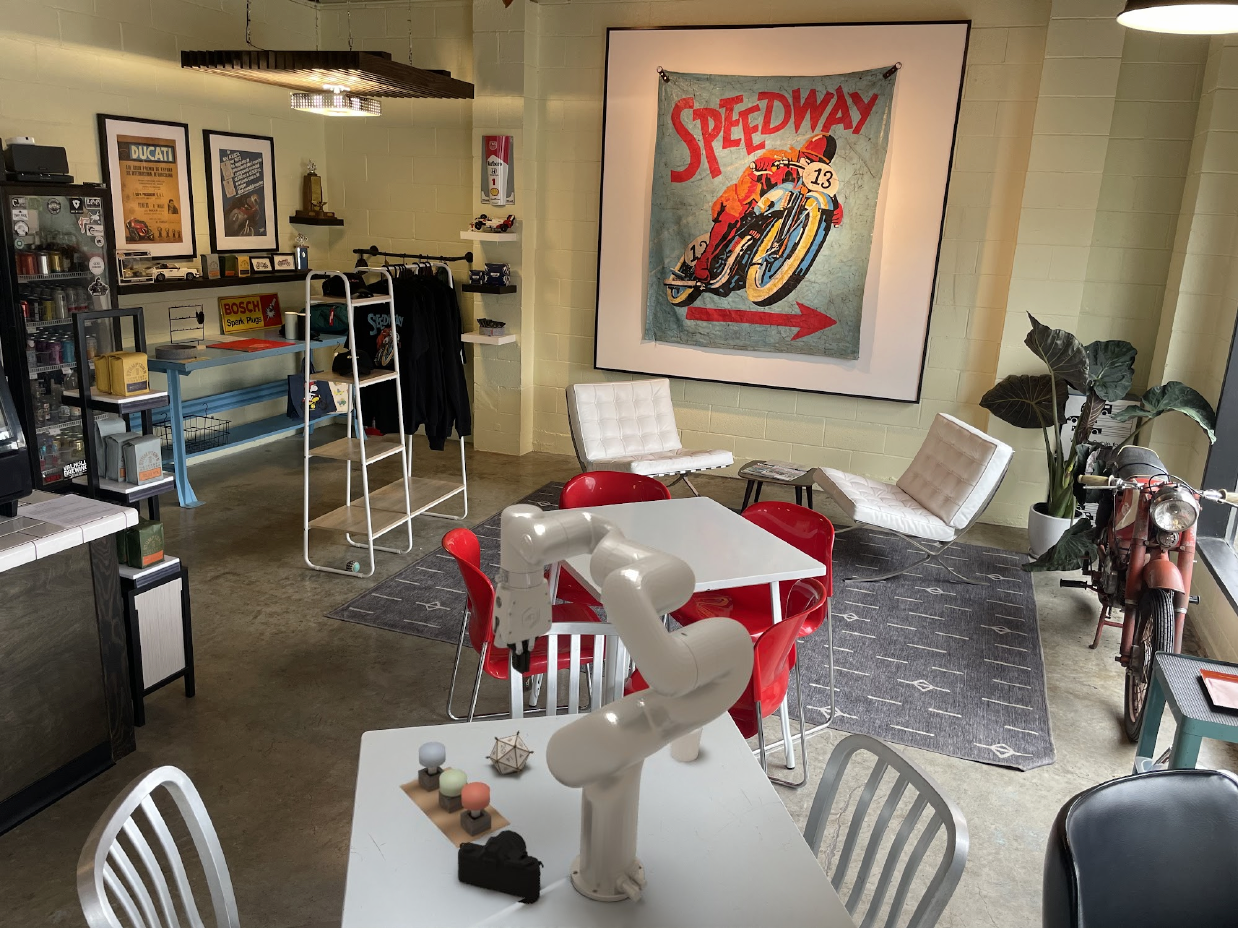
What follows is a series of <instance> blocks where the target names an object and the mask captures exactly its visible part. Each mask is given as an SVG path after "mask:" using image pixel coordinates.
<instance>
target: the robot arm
mask: <svg viewBox="0 0 1238 928" xmlns="http://www.w3.org/2000/svg"><path fill="white" fill-rule="evenodd" d="M585 554H586V555H591V558H590V561H589V574H590V577H591V579H592V581H593V583H594V584H595V585H596V586H597V587H599V588H600V589H601V590H600V591H601V592H600V593H601V594H600V596H601V602H602V606H603V609H604V612H605V613H606V616H607V618H608V620H609V622H610V624H611V625H612V628H613V629H614V631H615V632H616V634H617V636H618V638H619V640H620V641H621V642H622V644H623V646H624V647H625V649H626V651H627V653H628V654H629V656H630V658H631V660H632V661H633V663H634V665H635V667H636V668H637V669H638V672H639V673H640V676H642V679H643V680H644V681H645V683H646V684H647V685H648V688H645V689H642V690H639V691H635V692H633V693H630V694H627V695H625V696H623V697H621V698H619V699H617V700H614V701H612V702H610V703H608V704H605V705H603V706H602V707H601V706H600V707H599V708H597V709H595V710H593V711H591V712H589V713H587V714H586V715H583V716H582V717H580V718H578V719H576V720H574V721H572V722H570V723H569V724H566V725H565V726H563V727H561V728H559V729H557V730H556V731H555V732H554V733H553V734H552V735H551V736H550V738H549V740H548V742H547V746H546V751H545V758H546V764H547V768H548V770H549V772H550V773H551V775H552V776H553V778H554V779H555V780H556V782H558V783H560V784H561V785H563V786H565V787H568V788H570V789H581V808H580V809H581V810H580V811H581V812H580V813H581V814H580V844H579V854H577V856H576V857H575V858H574V859H573V861H572V862H571V865H570V874H569V875H570V876H569V877H570V880H571V881H570V882H571V884H572V886H573V887H574V888H575V889H576V890H577V891H578V892H579V893H580V894H582V895H584V896H586V897H587V898H589V899H593V900H595V901H599V902H600V901H601V902H616V901H620V900H621V901H622V900H625V899H627V898H629V899H630V900H632V902H638V901H639V900H640V899H641V897H642V893H643V892H642V890H644V889H646V888H647V887H648V882H647V881H646V880H645V868H644V865H643V862H641V860H640V858H638V857H637V843H638V841H637V840H638V825H639V824H638V823H639V821H638V820H639V805H640V803H639V802H640V790H641V779H642V771H643V767H644V763H645V759H647V758H649V757H651V756H652V755H654V754H656V753H657V752H659V751H660V750H662V749H663V748H664V747H666V746H668V745H669V744H671V742H672V741H674V740H676V739H678V738H680V737H682V736H684V735H687V734H689V733H691V732H693V731H694V730H696V729H698V728H700V727H702V728H703V727H704V726H707V725H708V724H710V723H712V722H714V721H716V719H718V718H720V717H721V716H722V715H724V714H726V712H727V711H729V709H731V708H732V707H733V706H734V705H735V703H737V701H739V699H740V698H741V696H742V695H743V694H744V692H745V690H746V689H747V687H748V685H749V682H750V679H751V676H752V674H753V668H754V664H755V661H754V659H755V655H754V654H755V653H754V652H755V651H754V644H753V640H752V637H751V635H750V633H749V630H747V628H746V626H744V625H743V624H742V623H740V622H739V621H737V620H735V619H732V618H730V617H723V616H722V617H720V616H719V617H718V616H717V617H709V618H704V619H700V620H698V621H696V622H695V621H694V622H693V623H690V624H688V625H686V626H685V625H684V626H683V627H681V628H677V629H676V630H673V631H670V632H669V631H668V629H667V627H666V626H665V624H664V623H663V621H662V619H661V617H662V616H664V615H668V614H670V613H672V612H674V611H677V610H678V609H680V608H681V607H683V606H684V605H686V603H688V601H690V600H691V598H692V595H694V592H695V590H696V589H695V588H696V576H695V573H694V571H693V569H692V567H691V566H690V565H689V564H688V563H687V562H686V561H684V559H681V558H680V557H678V556H676V555H674V554H670V553H667V552H665V551H663V550H660V549H659V550H658V549H656V548H653V547H650V546H648V545H644V544H642V543H638V542H635V541H633V540H630V539H628V538H626V537H625V534H624V533H623V531H622V529H621V527H620V526H618V524H617V523H616V522H615V521H614V520H612V519H610V518H608V517H607V516H603V515H600V514H598V513H597V514H596V513H593V512H590V511H587V510H574V511H573V510H572V511H568V512H563V513H560V514H557V515H552V516H549V517H545V513H544V511H543V510H542V508H540V507H539V506H536V505H533V504H528V503H517V504H513V505H509V506H507V507H505V508H504V509H503V510H502V511H501V516H500V568H499V573H498V574H496V575H495V576H494V580H495V582H496V583H497V585H496V589H495V594H494V601H493V608H492V609H493V610H492V633H493V635H494V636H495V637H494V642H493V645H494V646H495V647H496V648H498V649H507V648H508V649H510V650H511V666H512V668H513V670H515V671H516V672H518V673H519V674H521V675H523V674H525V673H529V672H530V669H531V667H530V666H531V653H532V651H534V650H533V649H534V647H535V643H537V641H538V639H539V638H540V637H543V636H544V635H546V634H547V633H548V632H549V631H551V629H552V627H553V610H552V599H551V598H552V597H551V592H550V586H549V582H548V579H547V578H545V577H544V574H545V572H544V570H545V566H546V565H550V564H551V565H552V564H554V563H557V562H560V561H563V560H566V559H567V560H568V559H570V558H573V557H576V556H581V555H585Z"/></svg>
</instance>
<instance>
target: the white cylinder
mask: <svg viewBox="0 0 1238 928" xmlns="http://www.w3.org/2000/svg"><path fill="white" fill-rule="evenodd" d="M702 733H703V726H702V727H700V728H698V729H696V730H694V731H693V732H691V733H689V734H687V735H684V736H682V737H680V738H678V739H676V740H674V741H672V742H671V743H670V755H671V757H672V758H673V759H675V760H676V761H679V762H686V763H687V762H688V763H689V762H693V761H695V760H697V758H698V756H699V755H698V754H699V751H700V750H699V748H700V745H701V744H700V743H701V738H702Z"/></svg>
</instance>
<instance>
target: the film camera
mask: <svg viewBox="0 0 1238 928" xmlns="http://www.w3.org/2000/svg"><path fill="white" fill-rule="evenodd" d="M463 844H464V845H463ZM541 868H544V864H543V861H542V860H539V859H538V858H537V857H534V856H532V855H529V854H528V851H527V844H526V841H525V839H524V838H523V836H522V835H520V833H519V832H516V831H514V830H508V829H507V830H501V831H500V832H499V833H498V834H497V835H496V836H490V837H489V838H488V839H487V840H486V842H485V844H479V843H474V842H467V843H461V844H460V847H459V849H458V852H457V877H458V878H457V879H458V882H460V883H463V884H465V885H469V886H473V887H475V888H476V887H477V888H480V889H484V890H489V891H494V892H497V893H501V894H506V895H510V896H514V897H517V898H521V899H519V900H517V901H516V903H519V904H520V903H521V904H525V905H532V904H535V903H536V902H537V901H538V900H539V899H540V897H541V875H542V874H541V873H542V872H541Z"/></svg>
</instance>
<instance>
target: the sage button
mask: <svg viewBox="0 0 1238 928" xmlns="http://www.w3.org/2000/svg"><path fill="white" fill-rule="evenodd" d="M467 783H468V774H467V773H466V771H464V770H463V769H459V768H452V769H450V770H447V771H444V772H443V773H442V774H441V775H440V792H441V793H442V794H443V795H446V796H449V797H450V798H452V797H455V796H458V795H461V794H462V788H463V787H464V786H465V785H467Z"/></svg>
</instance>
